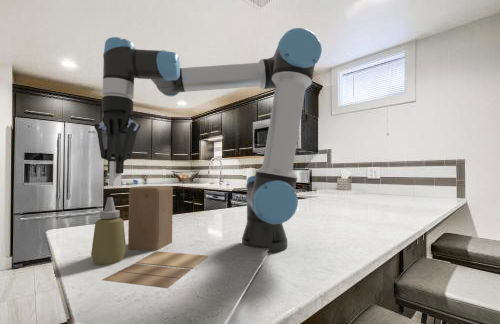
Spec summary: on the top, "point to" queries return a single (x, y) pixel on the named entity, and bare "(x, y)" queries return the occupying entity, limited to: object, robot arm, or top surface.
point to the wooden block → (150, 217)
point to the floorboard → (148, 275)
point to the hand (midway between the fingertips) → (115, 185)
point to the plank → (173, 259)
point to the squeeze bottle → (109, 236)
